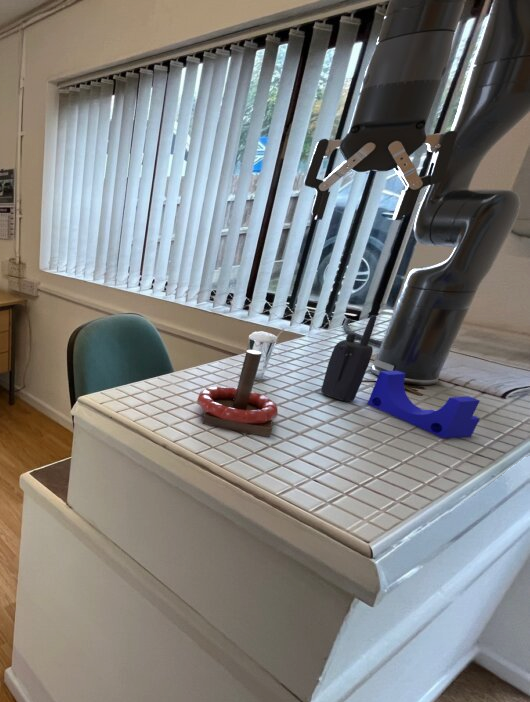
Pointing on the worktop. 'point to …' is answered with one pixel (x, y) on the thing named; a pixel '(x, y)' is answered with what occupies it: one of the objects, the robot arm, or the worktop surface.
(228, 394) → the ring
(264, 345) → the milkshake
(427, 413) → the cable clip
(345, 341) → the two-way radio
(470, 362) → the worktop surface
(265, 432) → the stand
